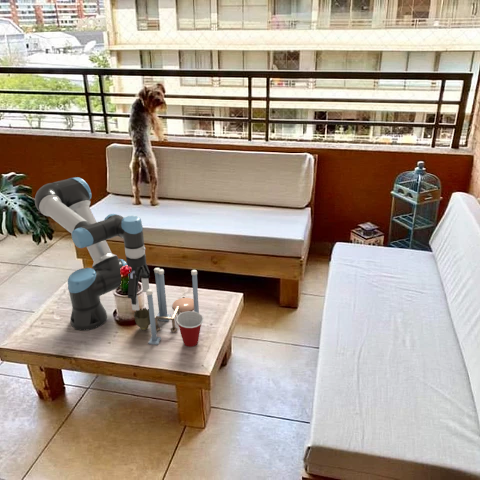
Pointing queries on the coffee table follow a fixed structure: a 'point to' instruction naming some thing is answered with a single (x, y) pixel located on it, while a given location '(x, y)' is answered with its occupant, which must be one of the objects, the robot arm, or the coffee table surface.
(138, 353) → the coffee table surface
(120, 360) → the coffee table surface
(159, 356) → the coffee table surface
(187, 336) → the plastic cup
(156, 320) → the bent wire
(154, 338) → the gate
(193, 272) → the gate
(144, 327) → the ornate lamp shade
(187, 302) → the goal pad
